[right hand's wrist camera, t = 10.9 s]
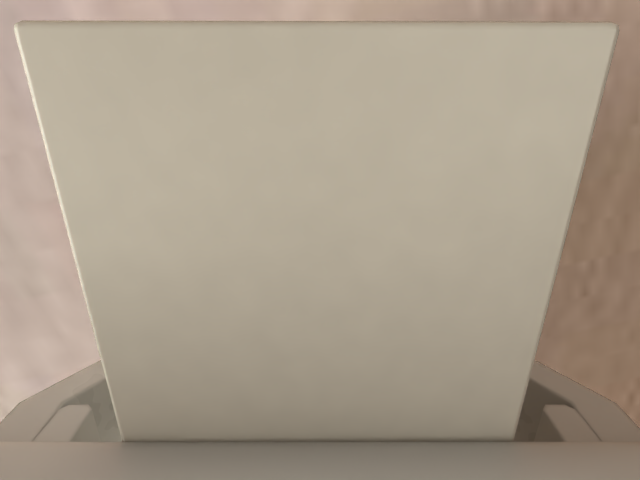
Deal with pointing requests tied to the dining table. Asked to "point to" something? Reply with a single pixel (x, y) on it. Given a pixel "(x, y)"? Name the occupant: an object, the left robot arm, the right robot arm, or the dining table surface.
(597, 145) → the dining table surface
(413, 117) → the cream rectangular bar
